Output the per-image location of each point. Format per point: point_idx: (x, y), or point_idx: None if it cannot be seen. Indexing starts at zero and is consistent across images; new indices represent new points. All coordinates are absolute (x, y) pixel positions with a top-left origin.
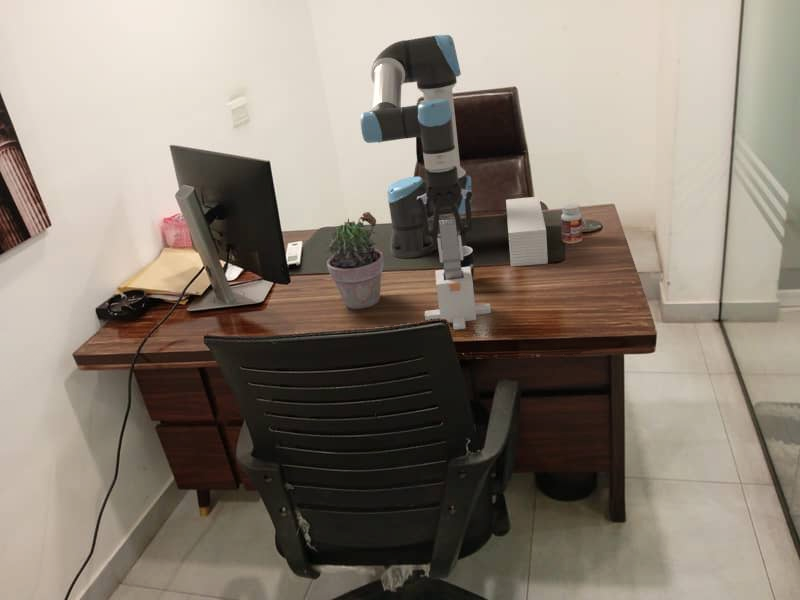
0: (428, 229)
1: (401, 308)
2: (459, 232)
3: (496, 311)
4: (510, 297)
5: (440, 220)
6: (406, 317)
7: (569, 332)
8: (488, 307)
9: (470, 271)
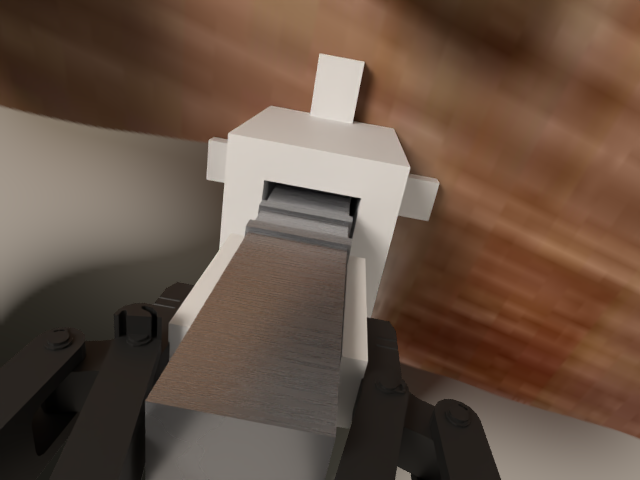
0: (56, 446)
1: (127, 37)
2: (358, 372)
3: (445, 213)
4: (538, 128)
5: (163, 411)
6: (148, 125)
7: (564, 396)
8: (424, 209)
9: (392, 228)
